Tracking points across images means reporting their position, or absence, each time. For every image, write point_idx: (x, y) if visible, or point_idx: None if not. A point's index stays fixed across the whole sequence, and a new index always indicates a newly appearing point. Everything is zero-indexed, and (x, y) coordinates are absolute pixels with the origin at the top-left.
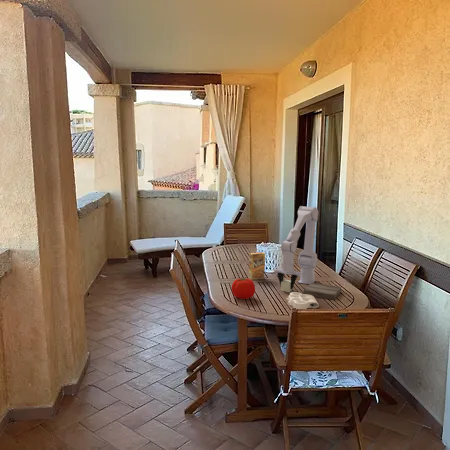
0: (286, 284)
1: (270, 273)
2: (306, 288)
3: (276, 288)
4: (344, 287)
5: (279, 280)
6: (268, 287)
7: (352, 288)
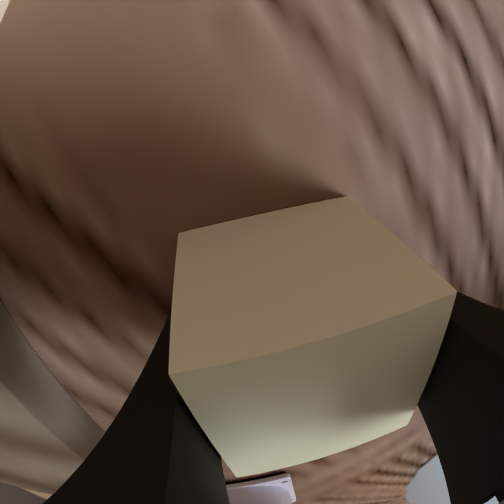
0: (281, 301)
1: None
2: (2, 393)
3: (425, 250)
4: (52, 494)
5: (495, 311)
6: (495, 217)
7: (28, 490)
